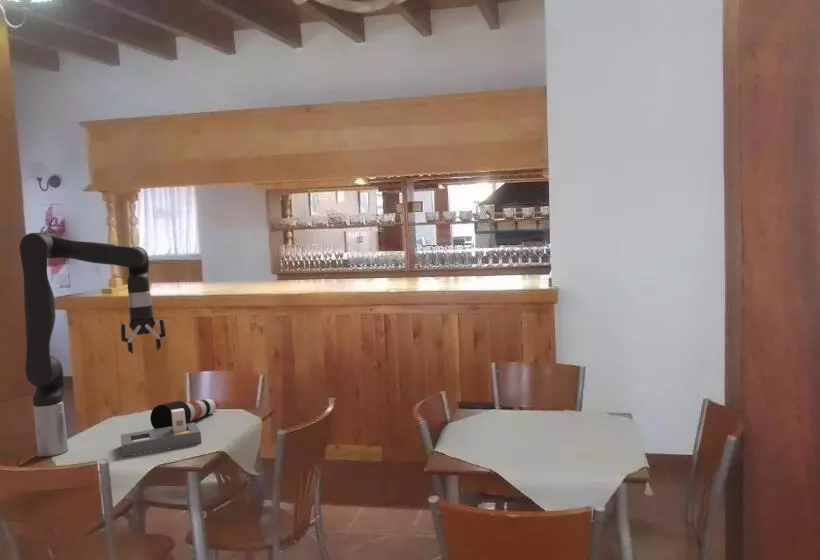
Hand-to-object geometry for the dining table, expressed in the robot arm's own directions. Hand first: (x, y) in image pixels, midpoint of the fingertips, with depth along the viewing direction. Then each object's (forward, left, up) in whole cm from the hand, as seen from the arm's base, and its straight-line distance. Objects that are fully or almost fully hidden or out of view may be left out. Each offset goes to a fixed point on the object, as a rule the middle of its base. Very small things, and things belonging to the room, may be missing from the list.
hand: (145, 351), depth 254 cm
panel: (+2, -5, -32) cm, 33 cm away
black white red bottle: (+15, +19, -32) cm, 41 cm away
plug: (+8, -5, -32) cm, 34 cm away
